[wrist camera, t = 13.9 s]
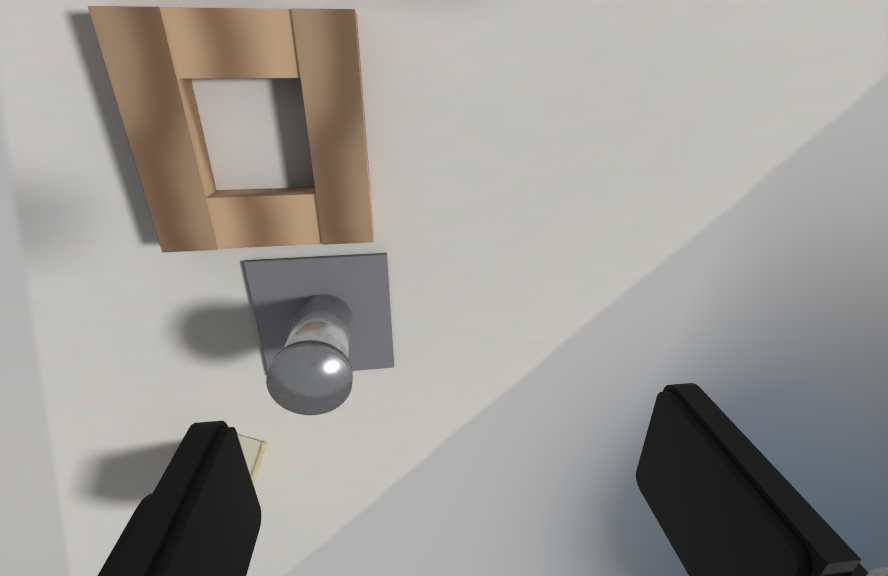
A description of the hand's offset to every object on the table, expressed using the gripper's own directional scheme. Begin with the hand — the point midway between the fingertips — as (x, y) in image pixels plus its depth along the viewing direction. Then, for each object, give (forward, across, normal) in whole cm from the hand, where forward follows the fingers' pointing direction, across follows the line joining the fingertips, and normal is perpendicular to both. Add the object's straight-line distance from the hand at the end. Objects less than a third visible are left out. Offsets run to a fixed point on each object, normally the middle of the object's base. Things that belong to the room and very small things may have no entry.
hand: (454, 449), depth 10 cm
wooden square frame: (+29, +11, -3) cm, 31 cm away
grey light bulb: (+28, +8, +13) cm, 32 cm away
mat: (+29, +8, +13) cm, 33 cm away
